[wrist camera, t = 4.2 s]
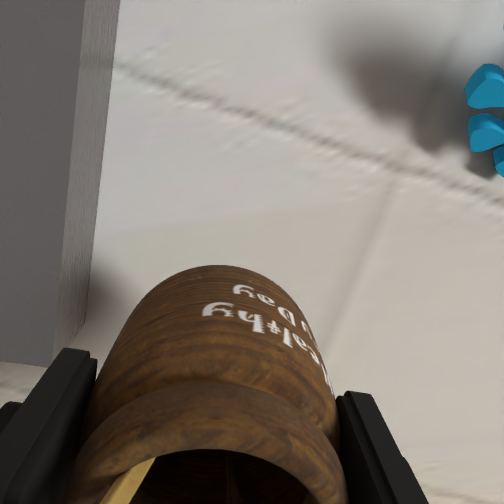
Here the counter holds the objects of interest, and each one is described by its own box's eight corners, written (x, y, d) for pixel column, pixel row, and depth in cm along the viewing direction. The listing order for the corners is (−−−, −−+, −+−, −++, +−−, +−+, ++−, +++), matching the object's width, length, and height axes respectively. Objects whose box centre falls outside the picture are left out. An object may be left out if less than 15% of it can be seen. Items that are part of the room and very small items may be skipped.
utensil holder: (207, 451, 15) (131, 1456, 4) (78, 325, 14) (-723, 1414, 2) (346, 357, 14) (789, 1302, 3) (226, 210, 13) (168, 1041, 1)
